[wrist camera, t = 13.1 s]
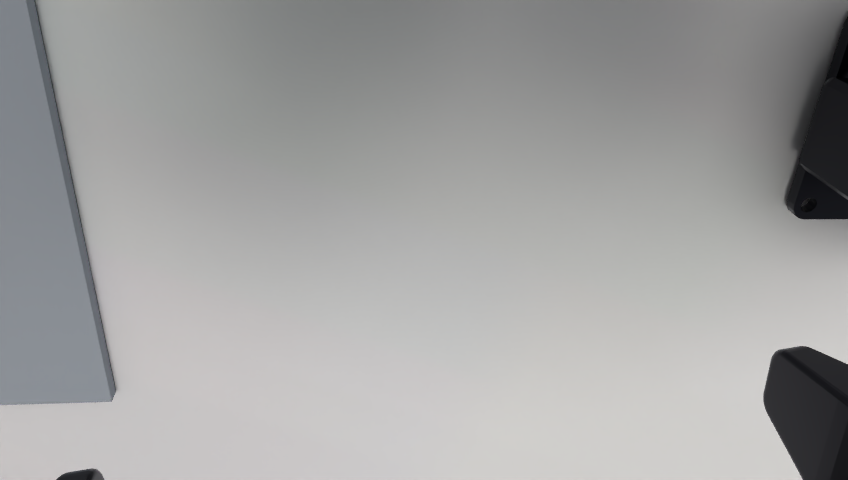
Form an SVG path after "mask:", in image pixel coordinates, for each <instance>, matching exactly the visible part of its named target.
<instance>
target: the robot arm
mask: <svg viewBox="0 0 848 480" xmlns="http://www.w3.org/2000/svg"><path fill="white" fill-rule="evenodd" d="M808 198H810V200H809V201H808V203H807V204H806V205H804V206H801V205H802V203H803V202H804V201H805V200H806V199H808ZM787 207H788V210H790V211H791V212H792V213H793V214H794V215H796V216H797V217H798V218H801V219H848V17H847V19H846V21H845V23H844V26H843V29H842V32H841V35H840V38H839V41H838V44H837V47H836V50H835V54H834V57H833V60H832V63H831V66H830V69H829V72H828V75H827V78H826V81H825V84H824V85H823V87H822V90H821V93H820V96H819V99H818V102H817V106H816V109H815V112H814V115H813V118H812V121H811V124H810V127H809V130H808V133H807V137H806V140H805V143H804V146H803V149H802V152H801V155H800V158H799V165H798V168H797V171H796V174H795V177H794V180H793V183H792V186H791V190H790V193H789V196H788V199H787ZM764 405H765V409H766V411H767V414H768V416H769V417H770V419H771V421H772V423H773V425H774V427H775V429H776V430H777V432H778V434H779V436H780V438H781V440H782V442H783V443H784V445H785V447H786V449H787V451H788V453H789V455H790V456H791V458H792V460H793V462H794V464H795V466H796V468H797V469H798V471H799V473H800V475H801V477H802V479H803V480H848V364H846V363H843V362H841V361H839V360H837V359H834V358H832V357H830V356H828V355H825V354H823V353H821V352H819V351H816V350H814V349H812V348H809V347H806V346H799V347H793V348H787V349H781V350H778V351H776V352H775V353H774V355H773V356H772V359H771V363H770V367H769V372H768V376H767V381H766V385H765V390H764ZM57 480H104V478H103V476H102V474H101V473H100V472H99V471H98V470H97V469H86V470H80V471H74V472H69V473H65V474H63V475H61V476H60V477H59V478H58V479H57Z"/></svg>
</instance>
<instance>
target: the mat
mask: <svg viewBox="0 0 848 480" xmlns="http://www.w3.org/2000/svg"><path fill="white" fill-rule="evenodd" d="M115 392H116V390H115V385H114V380H113V376H112V371H111V366H110V361H109V356H108V352H107V347H106V342H105V337H104V332H103V328H102V323H101V318H100V313H99V308H98V304H97V299H96V294H95V289H94V285H93V280H92V275H91V270H90V265H89V261H88V256H87V251H86V246H85V241H84V237H83V232H82V227H81V222H80V217H79V213H78V208H77V203H76V198H75V193H74V189H73V184H72V179H71V174H70V169H69V165H68V160H67V155H66V150H65V145H64V141H63V136H62V131H61V126H60V121H59V117H58V112H57V107H56V102H55V97H54V93H53V88H52V83H51V78H50V73H49V69H48V64H47V59H46V54H45V49H44V45H43V40H42V35H41V30H40V25H39V21H38V16H37V11H36V6H35V1H34V0H0V405H17V404H50V403H83V402H112V400H113V397H114V395H115Z"/></svg>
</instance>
